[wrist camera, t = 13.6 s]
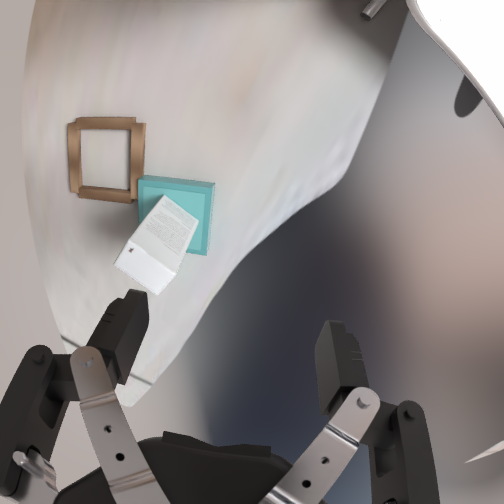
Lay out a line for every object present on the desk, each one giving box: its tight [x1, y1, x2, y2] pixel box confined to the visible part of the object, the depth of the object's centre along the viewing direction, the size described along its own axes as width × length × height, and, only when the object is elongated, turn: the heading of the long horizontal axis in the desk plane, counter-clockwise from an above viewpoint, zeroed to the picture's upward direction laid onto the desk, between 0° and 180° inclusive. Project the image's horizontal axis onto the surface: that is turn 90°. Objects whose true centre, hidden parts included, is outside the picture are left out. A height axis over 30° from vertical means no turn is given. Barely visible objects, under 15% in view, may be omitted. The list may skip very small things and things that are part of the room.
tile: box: [138, 175, 215, 256], centre depth 41 cm, size 10×10×2 cm
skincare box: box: [114, 195, 199, 295], centre depth 34 cm, size 6×4×12 cm
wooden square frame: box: [68, 117, 146, 204], centre depth 37 cm, size 12×12×1 cm
